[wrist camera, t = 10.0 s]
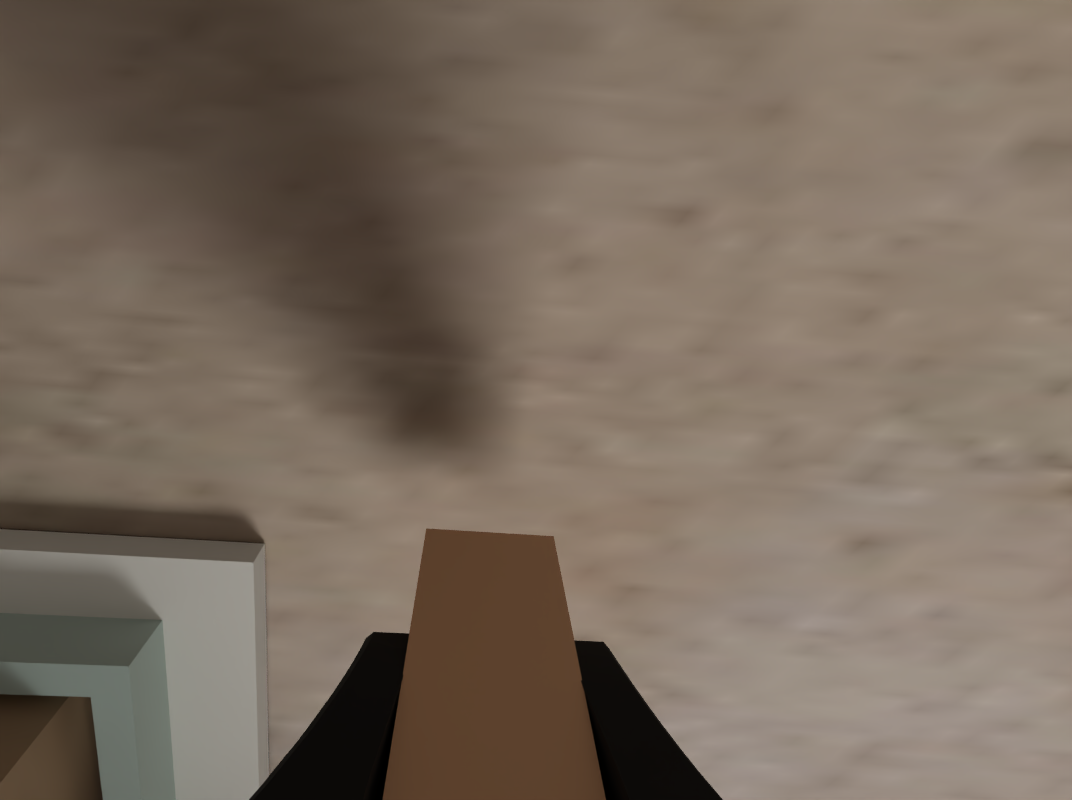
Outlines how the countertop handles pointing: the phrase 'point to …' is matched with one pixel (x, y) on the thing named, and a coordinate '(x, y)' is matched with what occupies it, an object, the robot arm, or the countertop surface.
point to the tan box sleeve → (48, 748)
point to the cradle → (145, 654)
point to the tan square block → (491, 678)
